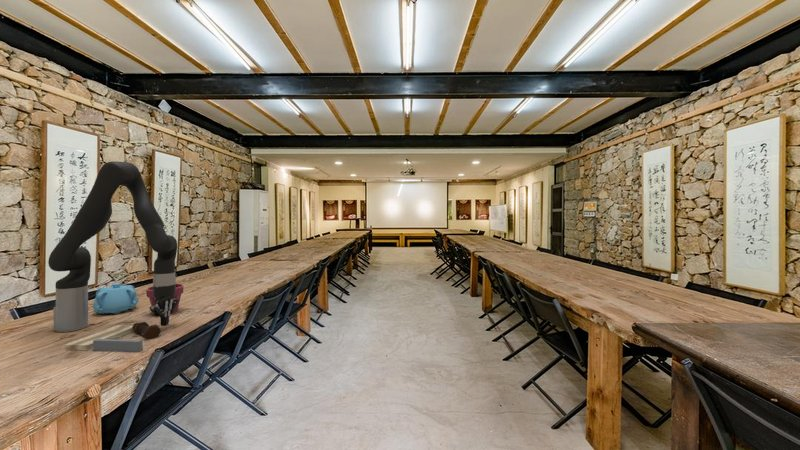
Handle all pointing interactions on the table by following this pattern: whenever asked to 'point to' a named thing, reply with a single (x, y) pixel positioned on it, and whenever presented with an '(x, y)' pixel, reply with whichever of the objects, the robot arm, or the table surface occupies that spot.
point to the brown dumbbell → (146, 330)
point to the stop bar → (117, 345)
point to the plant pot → (176, 296)
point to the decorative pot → (115, 299)
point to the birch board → (99, 337)
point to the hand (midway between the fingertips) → (164, 325)
